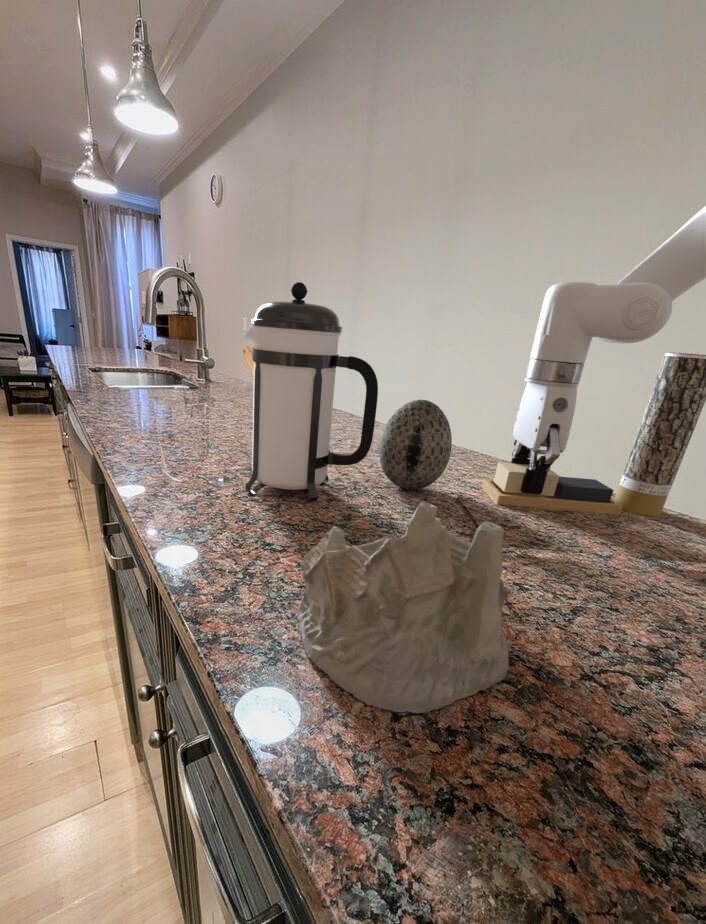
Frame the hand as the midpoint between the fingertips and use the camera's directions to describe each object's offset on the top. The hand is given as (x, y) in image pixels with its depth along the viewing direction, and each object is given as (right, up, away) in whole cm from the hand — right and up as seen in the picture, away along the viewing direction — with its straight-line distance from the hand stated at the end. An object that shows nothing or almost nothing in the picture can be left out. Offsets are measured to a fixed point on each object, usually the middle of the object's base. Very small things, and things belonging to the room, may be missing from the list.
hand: (523, 485), depth 74 cm
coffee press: (-38, -1, -1) cm, 38 cm away
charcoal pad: (+9, -3, +1) cm, 9 cm away
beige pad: (0, 0, 0) cm, 0 cm away
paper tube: (+19, -4, 0) cm, 19 cm away
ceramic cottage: (-27, -16, -36) cm, 48 cm away
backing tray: (+4, -3, +1) cm, 5 cm away
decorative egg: (-19, 0, +3) cm, 19 cm away
